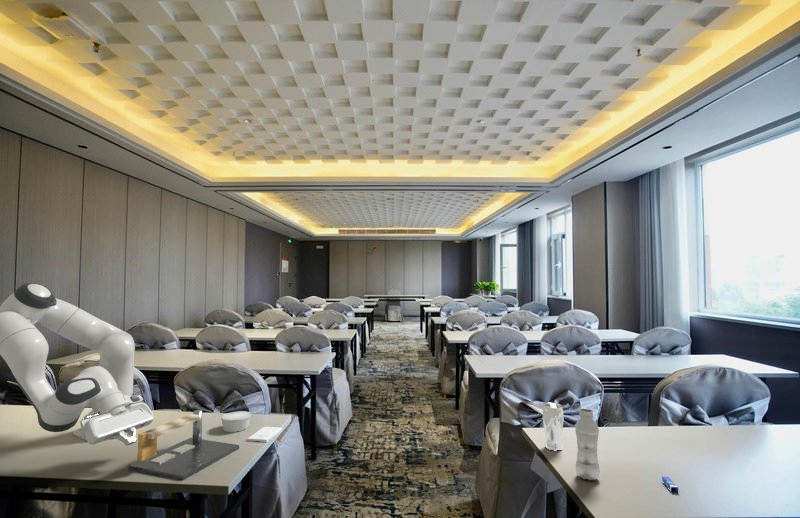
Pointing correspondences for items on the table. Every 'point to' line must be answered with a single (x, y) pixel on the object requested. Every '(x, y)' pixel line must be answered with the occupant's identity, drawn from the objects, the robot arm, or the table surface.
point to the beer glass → (553, 425)
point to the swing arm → (149, 438)
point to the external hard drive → (265, 434)
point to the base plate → (186, 455)
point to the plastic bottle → (587, 446)
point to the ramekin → (236, 421)
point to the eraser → (669, 483)
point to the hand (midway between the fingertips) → (132, 443)
